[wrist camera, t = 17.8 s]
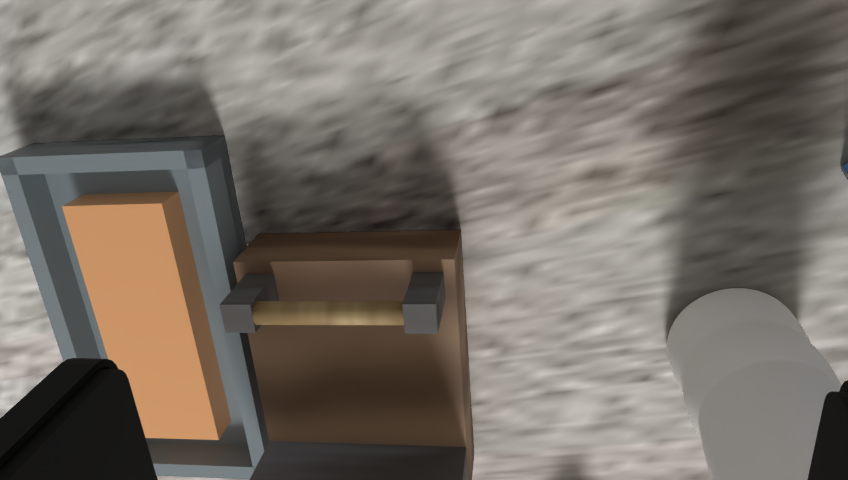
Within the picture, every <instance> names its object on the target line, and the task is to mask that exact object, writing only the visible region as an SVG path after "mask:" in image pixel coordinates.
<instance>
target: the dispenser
mask: <svg viewBox="0 0 848 480" xmlns="http://www.w3.org/2000/svg"><path fill="white" fill-rule="evenodd" d="M233 264H234V269H235V274H236V279H237V285H236V286H235V287H234V288H233V289H232V291H231V292H230V293H229V294H228V295H227V296H226V298H225V299H224V300H223V301H222V302H221V303H220V310H221V314H222V319H223V324H224V328H225V333H248V338H249V343H250V348H251V353H252V358H253V362H254V367H255V372H256V377H257V382H258V387H259V392H260V397H261V402H262V407H263V411H264V416H265V421H266V426H267V431H268V436H269V443H268V445H267V447H266V449H265V451H264V453H263V455H262V457H261V458H260V460H259V462H258V464H257V466H256V468H255V470H254V472H253V474H252V476H251V478H250V480H472V471H473V461H474V444H473V427H472V410H471V393H470V376H469V359H468V342H467V325H466V308H465V291H464V274H463V257H462V240H461V230H425V231H372V232H320V233H268V234H259V235H258V236H257V237H256V238H255V239H254V240H253V241H252V242H251V243H250V244H249V246H248V247H247V248H246V249H245V250H244V251H243V252H242V253H241V254H240V255H239V256H238V257H237V258H236V260H235V261H234V262H233Z"/></svg>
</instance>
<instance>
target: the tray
mask: <svg viewBox="0 0 848 480" xmlns="http://www.w3.org/2000/svg"><path fill="white" fill-rule="evenodd" d="M0 172H1V175H2V178H3V181H4V184H5V187H6V190H7V193H8V196H9V199H10V202H11V205H12V208H13V211H14V214H15V217H16V220H17V223H18V226H19V229H20V232H21V235H22V238H23V241H24V244H25V247H26V250H27V253H28V256H29V259H30V262H31V265H32V268H33V271H34V274H35V277H36V280H37V283H38V286H39V289H40V292H41V295H42V298H43V301H44V304H45V307H46V310H47V313H48V316H49V319H50V322H51V325H52V328H53V331H54V334H55V337H56V340H57V343H58V346H59V349H60V352H61V355H62V358H63V361H65V360H67V359H71V358H94V359H108V357H107V354H106V350H105V347H104V344H103V341H102V337H101V334H100V331H99V327H98V324H97V321H96V317H95V314H94V311H93V308H92V304H91V301H90V298H89V294H88V291H87V288H86V284H85V281H84V278H83V274H82V271H81V268H80V265H79V261H78V258H77V255H76V251H75V248H74V245H73V241H72V238H71V235H70V232H69V228H68V225H67V222H66V218H65V215H64V212H63V208H62V206H63V205H65V204H67V203H69V202H70V201H72V200H74V199H76V198H78V197H79V196H81V195H83V194H112V193H144V192H176V191H179V195H180V199H181V203H182V208H183V212H184V216H185V221H186V225H187V229H188V234H189V238H190V243H191V247H192V251H193V256H194V260H195V264H196V269H197V273H198V277H199V282H200V286H201V290H202V295H203V299H204V304H205V308H206V312H207V317H208V321H209V325H210V330H211V334H212V338H213V343H214V347H215V352H216V356H217V360H218V365H219V369H220V373H221V378H222V382H223V386H224V391H225V395H226V400H227V404H228V408H229V413H230V417H231V421H230V423H229V424H228V426H227V428H226V429H225V431H224V432H223V434H222V436H221V437H220V439H219V440H200V439H166V438H146V441H147V445H148V448H149V452H150V455H151V459H152V462H153V466H154V469H155V472H156V475H157V476H182V477H207V478H233V479H250V478H251V476H252V474H253V472H254V470H255V468H256V466H257V464H258V462H259V460H260V458H261V457H262V455H263V453H264V451H265V449H266V447H267V445H268V443H269V436H268V431H267V426H266V421H265V416H264V411H263V407H262V402H261V397H260V392H259V387H258V382H257V377H256V372H255V367H254V362H253V358H252V353H251V348H250V343H249V338H248V333H225V328H224V324H223V319H222V314H221V310H220V303H221V302H222V301H223V300H224V299H225V298H226V296H227V295H228V294H229V293H230V292H231V291H232V289H233V288H234V287H235V286H236V285H237V279H236V274H235V269H234V264H233V262H234V261H235V260H236V258H237V257H238V256H239V255H240V254H241V253H242V252H243V251H244V250H245V249H246V244H245V239H244V234H243V229H242V224H241V218H240V213H239V208H238V203H237V198H236V193H235V187H234V182H233V177H232V172H231V167H230V162H229V156H228V151H227V146H226V141H225V136H224V135H221V136H198V137H175V138H151V139H128V140H105V141H82V142H58V143H35V144H30V145H28V146H25V147H22V148H20V149H17V150H15V151H12V152H10V153H7V154H5V155H2V156H0Z"/></svg>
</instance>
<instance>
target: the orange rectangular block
mask: <svg viewBox="0 0 848 480" xmlns="http://www.w3.org/2000/svg"><path fill="white" fill-rule="evenodd" d="M62 208H63V212H64V215H65V218H66V222H67V225H68V228H69V232H70V235H71V238H72V241H73V245H74V248H75V251H76V255H77V258H78V261H79V265H80V268H81V271H82V274H83V278H84V281H85V284H86V288H87V291H88V294H89V298H90V301H91V304H92V308H93V311H94V314H95V317H96V321H97V324H98V327H99V331H100V334H101V337H102V341H103V344H104V347H105V350H106V354H107V357H108V359H109V360H112V361H113V362H114V363H115V364H116V365H117V367H118V369H120V370H123V371H124V372H125V373H126V375H127V377H128V379H129V383H130V386H131V390H132V393H133V397H134V400H135V404H136V407H137V410H138V414H139V417H140V421H141V424H142V428H143V431H144V435H145V438H166V439H200V440H219V439H220V437H221V436H222V434H223V432H224V431H225V429H226V428H227V426H228V424H229V423H230V421H231V417H230V413H229V408H228V404H227V400H226V395H225V391H224V386H223V382H222V378H221V373H220V369H219V365H218V360H217V356H216V352H215V347H214V343H213V338H212V334H211V330H210V325H209V321H208V317H207V312H206V308H205V304H204V299H203V295H202V290H201V286H200V282H199V277H198V273H197V269H196V264H195V260H194V256H193V251H192V247H191V243H190V238H189V234H188V229H187V225H186V221H185V216H184V212H183V208H182V203H181V199H180V195H179V191H176V192H144V193H112V194H83V195H81V196H79V197H78V198H76V199H74V200H72V201H70V202H69V203H67V204H65V205H63V206H62Z"/></svg>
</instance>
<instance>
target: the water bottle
mask: <svg viewBox="0 0 848 480" xmlns="http://www.w3.org/2000/svg"><path fill="white" fill-rule="evenodd" d="M667 353H668V359H669V362H670V365H671V368H672V371H673V374H674V376H675V378H676V381H677V383H678V385H679V387H680V389H681V390H682V392H683V396H684V401H685V405H686V409H687V412H688V415H689V418H690V420H691V422H692V425H693V427H694V429H695V431H696V432H697V434H698V436H699V437H700V439H701V441H702V445H703V450H704V454H705V458H706V461H707V465H708V469H709V472H710V475H711V478H712V480H807V479H808V475H809V470H810V465H811V461H812V456H813V451H814V446H815V442H816V437H817V432H818V427H819V423H820V418H821V413H822V408H823V404H824V400H825V397H826V395H827V394H828V393H829V392H832V391H835V392H839V391H840V388H841V384H840V382H839V380H838V378H837V376H836V374H835V372H834V371H833V369H832V368H831V366H830V365H829V363H828V362H827V361H826V359H825V358H824V357H823V356H822V354H821V353H820V352H819V351H818V350H817V349H816V348H815V347H814V346H813V345H812V344H811V343H810V340H809V338H808V336H807V335H806V333H805V331H804V329H803V328H802V326H801V325H800V323H799V322H798V320H797V319H796V318H795V316H794V315H793V314H792V312H791V311H790V310H789V309H788V308H787V307H786V306H785V305H784V304H783V303H781V302H780V301H779V300H777V299H776V298H774V297H772V296H770V295H768V294H766V293H763V292H760V291H757V290H752V289H746V288H730V289H723V290H718V291H715V292H711V293H709V294H706V295H704V296H702V297H700V298H698V299H696V300H695V301H693V302H692V303H690V304H689V305H688V306H687V307H686V308H685V309H683V310H682V312H681V313H680V314H679V315H678V316H677V318H676V319H675V321H674V323H673V325H672V326H671V329H670V332H669V335H668V340H667Z"/></svg>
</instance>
